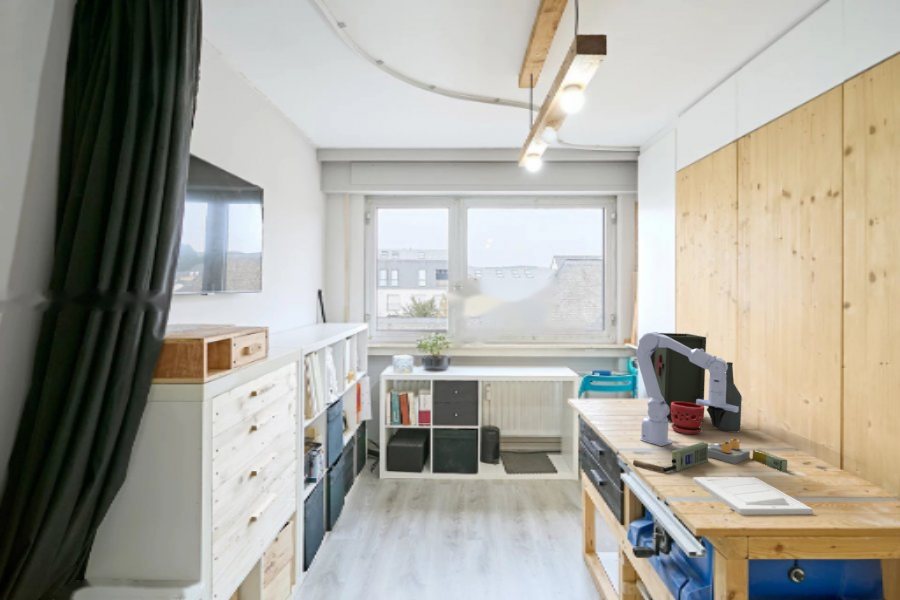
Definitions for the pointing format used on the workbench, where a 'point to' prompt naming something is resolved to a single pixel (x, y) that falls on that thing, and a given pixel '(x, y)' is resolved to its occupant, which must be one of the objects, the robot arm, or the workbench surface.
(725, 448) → the breaker
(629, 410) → the workbench surface
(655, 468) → the wooden dowel
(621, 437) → the workbench surface
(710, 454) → the box
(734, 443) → the breaker
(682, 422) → the plant pot
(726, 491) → the vent cover
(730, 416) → the bottle
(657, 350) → the tall dark green cabinet
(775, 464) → the medication box
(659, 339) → the robot arm
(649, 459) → the workbench surface
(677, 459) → the handheld radio
